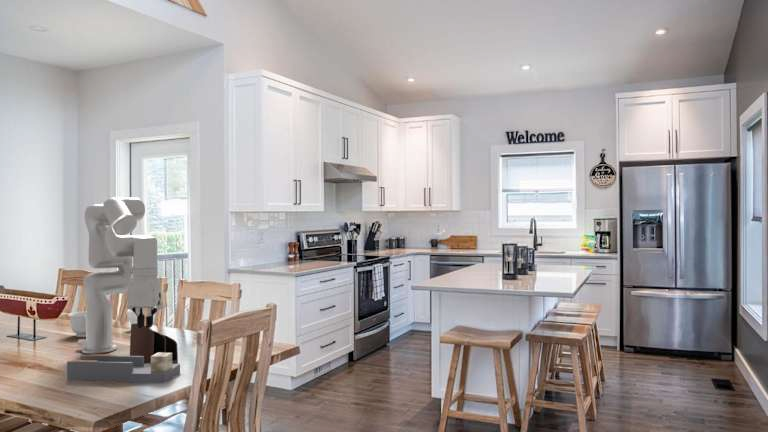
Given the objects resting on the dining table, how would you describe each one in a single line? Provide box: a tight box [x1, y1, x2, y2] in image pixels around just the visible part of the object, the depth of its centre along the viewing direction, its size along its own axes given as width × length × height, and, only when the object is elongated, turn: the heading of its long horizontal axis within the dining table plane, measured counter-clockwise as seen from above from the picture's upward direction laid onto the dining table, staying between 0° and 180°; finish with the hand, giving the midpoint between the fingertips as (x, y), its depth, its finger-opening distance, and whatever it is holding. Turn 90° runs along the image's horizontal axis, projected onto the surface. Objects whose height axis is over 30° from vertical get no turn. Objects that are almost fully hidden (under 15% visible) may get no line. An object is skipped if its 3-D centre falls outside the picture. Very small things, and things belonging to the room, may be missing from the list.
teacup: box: [67, 310, 86, 338], centre depth 248 cm, size 12×15×10 cm
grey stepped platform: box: [66, 353, 181, 384], centre depth 188 cm, size 34×12×6 cm, turn 87°
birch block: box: [151, 352, 172, 372], centre depth 186 cm, size 5×5×5 cm
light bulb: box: [126, 309, 137, 325], centre depth 261 cm, size 7×7×11 cm
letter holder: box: [129, 324, 179, 365], centre depth 209 cm, size 10×20×14 cm, turn 46°
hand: (145, 326), depth 187 cm, fingers closed
